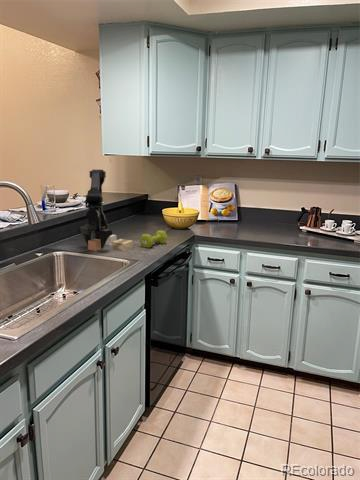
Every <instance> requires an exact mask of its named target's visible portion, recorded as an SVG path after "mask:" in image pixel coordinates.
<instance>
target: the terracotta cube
mask: <svg viewBox="0 0 360 480" xmlns="http://www.w3.org/2000/svg"><path fill="white" fill-rule="evenodd" d="M87 247H88V250H89V251H93V250H94V251H93V252H97V250H98V251H101V250H102V249H101V240H100V239H92V238H91V240H88V246H87ZM100 249H101V250H100Z"/></svg>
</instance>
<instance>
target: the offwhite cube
mask: <svg viewBox="0 0 360 480" xmlns="http://www.w3.org/2000/svg"><path fill="white" fill-rule="evenodd" d="M116 240H118V239H117V235H116V234H112V235H111V236H110V237H108V239H107V241H106V243H105V245H104V246H111V247H112V242H113V241H116Z"/></svg>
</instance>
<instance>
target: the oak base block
mask: <svg viewBox="0 0 360 480" xmlns="http://www.w3.org/2000/svg"><path fill="white" fill-rule="evenodd" d="M133 248H134V240H131V239H130V240H129V239H124V238H120V239H117V240H116V241H113V242H112V245H111V249H112V250H116V251H117V250H118V251H123V252H125V251H127V250H131V249H133Z"/></svg>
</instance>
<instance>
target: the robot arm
mask: <svg viewBox="0 0 360 480" xmlns="http://www.w3.org/2000/svg"><path fill="white" fill-rule="evenodd" d="M106 175H107V172H106V171H104V169H92V170H89V178H90V180H91V182H90V189H88V191H87V193H86V196H85V208H87V209H88V210H87V212H86V214H85V217H86V223H85V224H84V225H81V226H78V228H77V233H78V234H79V235H80V236H83V238H84V241H85V242H86V246H87V247H88V240H92V239H100V240H101V250H103V249H104V248H105V246H106V245H105V243H106V241H107V239H108V237H110V236H111V235H113V231H112V229H110V228H109V225H108V223H109V222H108V221H107V219H106V215H105V214H104V212H103V204H104V198H103V184H104V183H105V180H106V178H107V176H106ZM92 233H93V237H92Z"/></svg>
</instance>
